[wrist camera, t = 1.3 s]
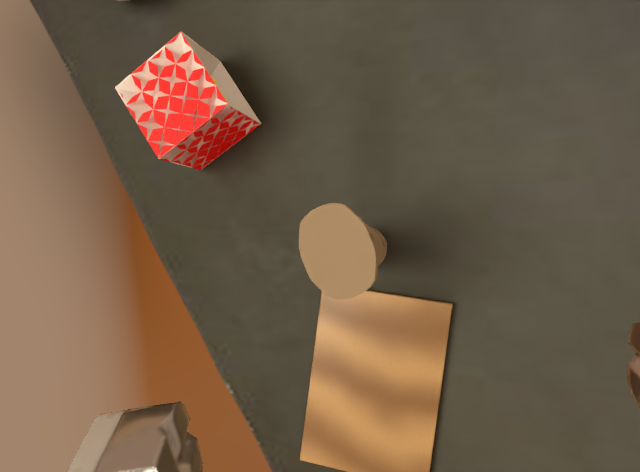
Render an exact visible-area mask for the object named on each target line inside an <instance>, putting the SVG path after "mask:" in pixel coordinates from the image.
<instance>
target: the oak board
mask: <svg viewBox="0 0 640 472" xmlns="http://www.w3.org/2000/svg"><path fill="white" fill-rule="evenodd" d="M451 313H452V303H447V302H440V301H434V300H428V299H421V298H415V297H409V296H402V295H396V294H390V293H384V292H377V291H371V290H366V291H365V292H363V293H362V294H360V295H358V296H356V297H353V298H350V299H344V300H337V299H332V298H329V297H328V296H327V295H326V294H325V293H324V292H323V291H322V293H321V301H320V309H319V316H318V324H317V332H316V340H315V347H314V355H313V363H312V370H311V378H310V386H309V394H308V401H307V409H306V417H305V425H304V432H303V440H302V448H301V456H300V460H303V461H307V462H311V463H315V464H319V465H323V466H327V467H331V468H335V469H339V470H343V471H347V472H430V466H431V458H432V451H433V444H434V437H435V429H436V422H437V415H438V407H439V400H440V393H441V385H442V378H443V371H444V364H445V356H446V349H447V342H448V334H449V327H450V320H451Z"/></svg>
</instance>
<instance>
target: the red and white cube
mask: <svg viewBox="0 0 640 472" xmlns="http://www.w3.org/2000/svg"><path fill="white" fill-rule="evenodd" d="M115 89H116V90H117V92H118V94H119V95H120V97H121V98H122V100H123V102H124V103H125V105H126V107H127V108H128V110H129V111H130V113H131V115H132V116H133V118H134V120H135V121H136V123H137V124H138V126H139V128H140V129H141V131H142V133H143V134H144V136H145V137H146V139H147V141H148V142H149V144H150V146H151V147H152V149H153V150H154V152H155V154H156V155H157V157H158V159H161V160H164V161H168V162H172V163H176V164H180V165H183V166H187V167H191V168H194V169H198V170H202V169H203V168H204V167H205V166H207V165H208V164H209V163H211V162H212V161H213V160H215V159H216V158H217V157H218V156H220V155H221V154H222V153H224V152H225V151H226V150H228V149H229V148H230V147H231V146H233V145H234V144H235V143H237V142H238V141H239V140H241V139H242V138H243V137H244V136H246V135H247V134H249V133H250V132H251V131H253V130H254V129H255V128H256V127H258V126H259V125H260V124H261V122H260V121H259V119H258V118H257V116H256V115H255V113H254V112H253V110H252V109H251V107H250V106H249V104H248V102H247V101H246V99H245V98H244V96H243V95H242V93H241V92H240V90H239V89H238V87H237V86H236V84H235V83H234V81H233V80H232V78H231V77H230V75H229V74H228V72H227V70H226V69H225V67H224V66H223V64H222V63H221V61H220V60H218V59H217V58H216V57H214V56H213V55H212V54H210V53H209V52H208V51H207V50H205V49H204V48H203V47H201V46H200V45H199V44H197V43H196V42H195V41H193V40H192V39H191V38H189V37H188V36H187V35H185V34H184V33H183V32H180V33H179V34H177V35H176V36H175V37H174V38H173V39H171V40H170V41H169V42H168V43H167V44H166V45H164V46H163V47H162V48H161V49H160V50H159V51H157V52H156V53H155V54H154V55H153V56H151V57H150V58H149V59H148V60H147V61H146V62H144V63H143V64H142V65H141V66H140V67H138V68H137V69H136V70H135V71H134V72H133V73H131V74H130V75H129V76H128V77H127V78H125V79H124V80H123V81H122V82H121V83H120V84H118V85H117V86H116V87H115Z"/></svg>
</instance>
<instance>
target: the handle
mask: <svg viewBox="0 0 640 472" xmlns="http://www.w3.org/2000/svg"><path fill="white" fill-rule="evenodd" d="M299 251H300V255H301V258H302V261H303V263H304V266H305V268H306V271H307V273H308V275H309V277H310V279H311V280H312V281H313V282H314V284H315V285H316V286H317V287H318V288H319V289H320V290H322V291H323V292H324V293H325V294H326V295H327V296H328V297H329V298H332V299H337V300H344V299H350V298H353V297H356V296H358V295H360V294H362V293H363V292H365V291H366V290H368V289H369V288H370V287H371V286H372V285H373V284H374V282H375V281H376V279H377V269H378V266H379V265H380V264H381V263H382V261H383V260H384V258H385V256H386V253H387V240H386V239H385V237H383V235H382V234H381V233H380V232H379V231H378V230H376V229H375V228H373V227H370V226H367V224H366V223H365V222H364V221H363V220H362V219H361V218H360V217H359V216H358V215H357V214H356V213H355V212H353V211H352V210H351V209H350V208H349V207H348V206H346V205H344V204H338V203H331V204H325V205H322V206H320V207H317V208H315V209H314V210H312V211H311V212H309V213H308V214H307V215H306V216H305V217H304V218H303V220H302V221H301V223H300V229H299Z"/></svg>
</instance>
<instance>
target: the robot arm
mask: <svg viewBox="0 0 640 472" xmlns="http://www.w3.org/2000/svg"><path fill="white" fill-rule="evenodd" d="M629 345H630V346H631V347H632V348H633V349H634V350H635V351H636V352H637V353H636V354H635V356H634V357H633V358H632V360H631V361H630V362H629V364H628V383H629V386H630V390H631V393H632V396H633V398H634V400H635V401H636V403H637V405H638V406H639V408H640V322H639V323H633V325H632V327H631V329H630V331H629ZM189 422H190V417H189V415H188V412H187V410H186V407H185V405H184V404H183V403H181V402H175V403H168V404H162V405H154V406H148V407H141V408H135V409H128V410H122V411H116V412H111V413H104V414H101V415H99V416H98V417H96V418H95V420H94V421H93V423H92V425H91V427H90V429H89V430H88V432H87V434H86V436H85V438H84V440H83V442H82V444H81V446H80V447H79V449H78V451H77V453H76V455H75V457H74V459H73V460H72V463H71V464H70V466H69V468H68V470H67V472H202V468H203V467H202V464H203V462H202V456H201V450H200V447H199V444H198V441H197V438H195V437H194V436H192V435H191V434H190V433H188V432H187V430H188V426H189Z"/></svg>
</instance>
